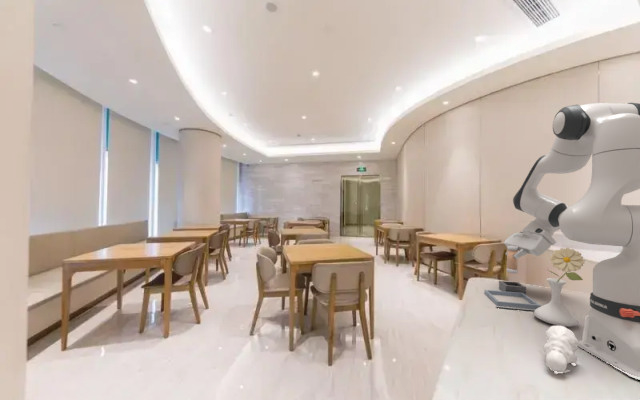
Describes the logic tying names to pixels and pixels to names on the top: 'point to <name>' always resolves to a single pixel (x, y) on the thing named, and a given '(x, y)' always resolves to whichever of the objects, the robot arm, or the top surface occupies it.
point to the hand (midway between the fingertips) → (510, 256)
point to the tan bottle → (512, 259)
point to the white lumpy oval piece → (560, 348)
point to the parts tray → (511, 304)
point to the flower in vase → (554, 309)
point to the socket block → (512, 287)
